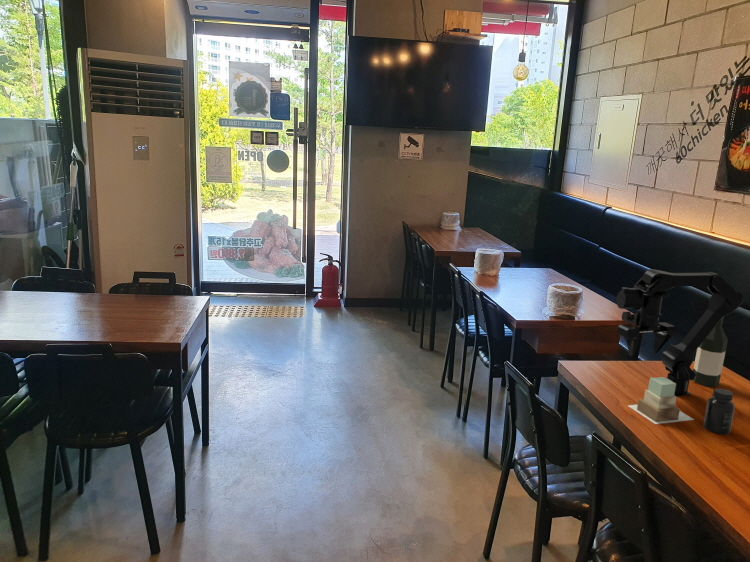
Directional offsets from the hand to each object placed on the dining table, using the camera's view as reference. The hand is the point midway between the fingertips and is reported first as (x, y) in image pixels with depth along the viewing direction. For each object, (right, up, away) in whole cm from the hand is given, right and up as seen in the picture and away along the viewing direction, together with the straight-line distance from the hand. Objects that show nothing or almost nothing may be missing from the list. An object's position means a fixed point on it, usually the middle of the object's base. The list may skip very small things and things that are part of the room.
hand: (642, 354), depth 183 cm
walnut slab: (-2, -16, -13) cm, 21 cm away
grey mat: (0, -16, -12) cm, 20 cm away
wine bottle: (+28, -11, +13) cm, 33 cm away
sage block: (-2, -10, -15) cm, 18 cm away
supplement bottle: (+11, -19, -21) cm, 30 cm away
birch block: (-2, -13, -14) cm, 19 cm away
